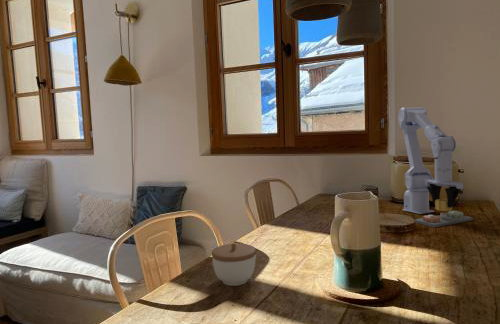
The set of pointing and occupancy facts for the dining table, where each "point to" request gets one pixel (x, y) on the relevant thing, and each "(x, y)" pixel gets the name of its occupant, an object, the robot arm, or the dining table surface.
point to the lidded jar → (234, 263)
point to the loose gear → (442, 205)
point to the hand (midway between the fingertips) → (443, 205)
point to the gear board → (443, 219)
